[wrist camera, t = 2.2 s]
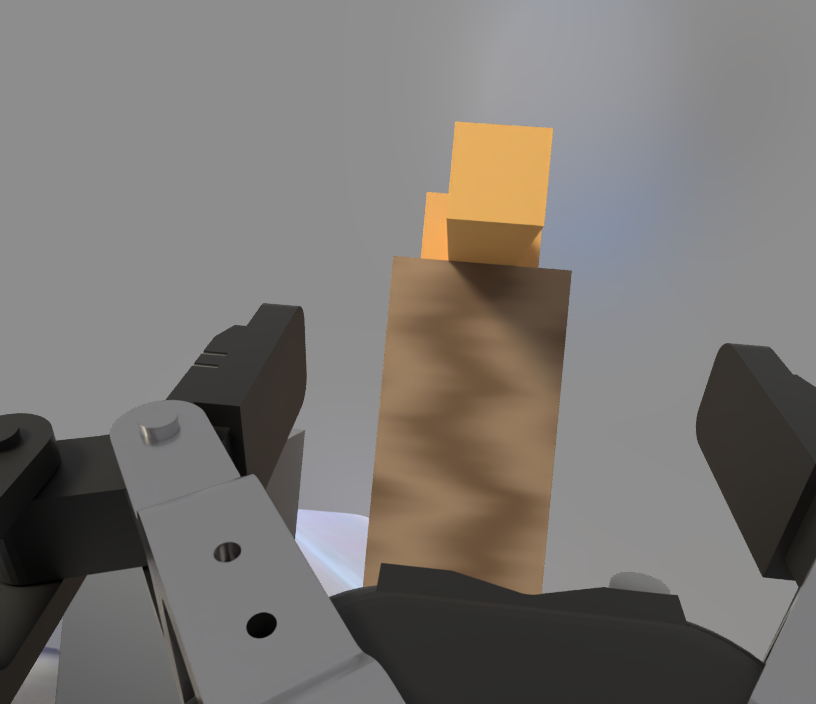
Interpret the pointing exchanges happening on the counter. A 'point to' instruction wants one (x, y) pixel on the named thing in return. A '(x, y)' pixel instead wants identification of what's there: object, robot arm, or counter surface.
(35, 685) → the counter surface
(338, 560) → the counter surface
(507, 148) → the orange block
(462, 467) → the tall wooden block
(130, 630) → the block
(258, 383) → the robot arm
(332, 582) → the counter surface
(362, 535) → the counter surface
